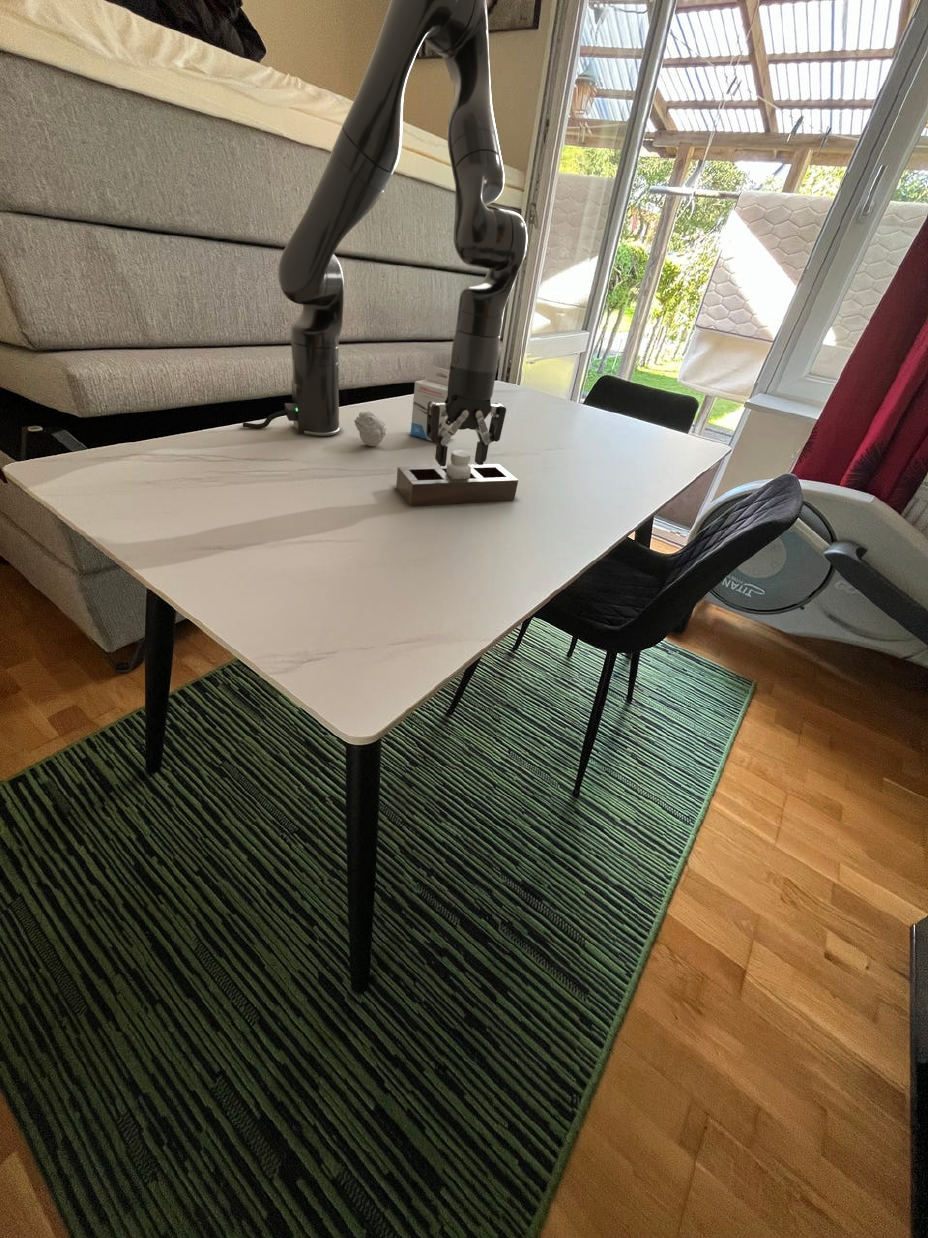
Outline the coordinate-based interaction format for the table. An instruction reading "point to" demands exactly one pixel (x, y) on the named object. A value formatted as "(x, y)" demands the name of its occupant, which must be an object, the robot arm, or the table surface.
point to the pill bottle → (459, 465)
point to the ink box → (428, 399)
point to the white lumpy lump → (370, 428)
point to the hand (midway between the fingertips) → (460, 463)
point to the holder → (455, 485)
